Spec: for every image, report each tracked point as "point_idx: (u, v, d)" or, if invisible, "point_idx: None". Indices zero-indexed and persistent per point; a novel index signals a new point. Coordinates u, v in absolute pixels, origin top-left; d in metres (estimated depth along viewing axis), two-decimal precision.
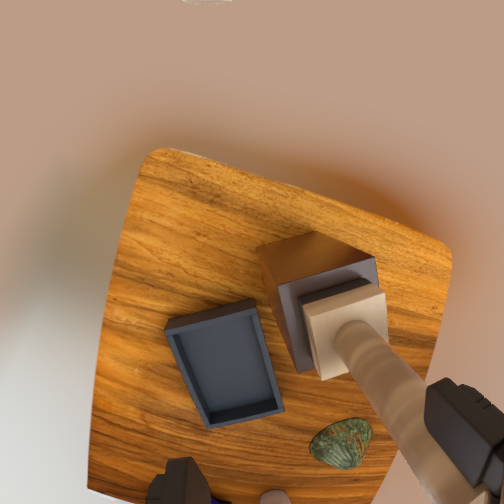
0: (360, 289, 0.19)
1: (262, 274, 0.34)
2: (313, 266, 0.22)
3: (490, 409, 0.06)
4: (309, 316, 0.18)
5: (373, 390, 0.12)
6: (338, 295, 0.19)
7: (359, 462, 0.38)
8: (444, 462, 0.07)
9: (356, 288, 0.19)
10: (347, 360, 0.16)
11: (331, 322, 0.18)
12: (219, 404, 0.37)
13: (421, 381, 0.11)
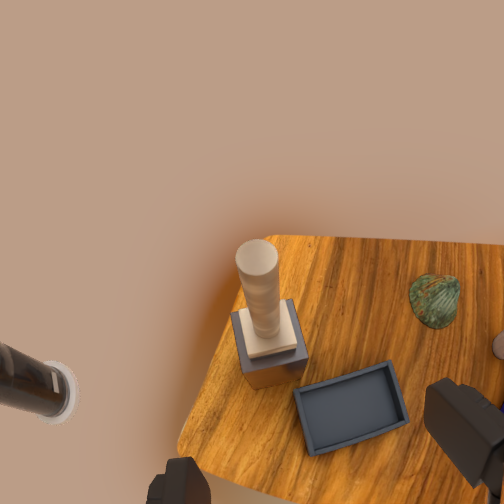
0: None
1: (272, 385, 0.42)
2: None
3: (490, 409, 0.06)
4: (248, 355, 0.29)
5: (259, 319, 0.25)
6: None
7: (450, 278, 0.45)
8: (244, 285, 0.21)
9: None
10: (265, 331, 0.28)
11: (252, 341, 0.30)
12: (389, 414, 0.38)
13: None
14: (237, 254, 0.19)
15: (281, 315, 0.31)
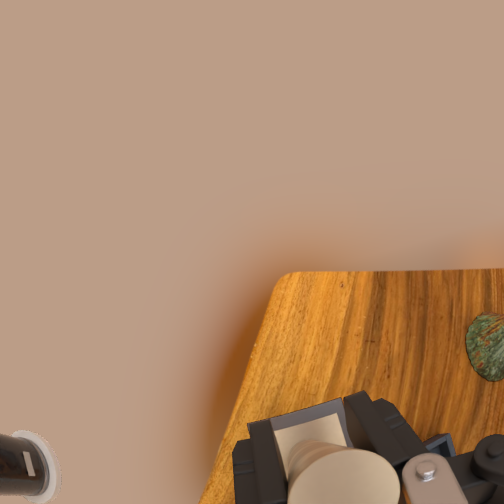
0: None
1: None
2: None
3: (403, 428, 0.07)
4: None
5: None
6: None
7: None
8: None
9: None
10: None
11: None
12: None
13: (291, 460, 0.11)
14: (293, 498, 0.05)
15: (332, 440, 0.16)
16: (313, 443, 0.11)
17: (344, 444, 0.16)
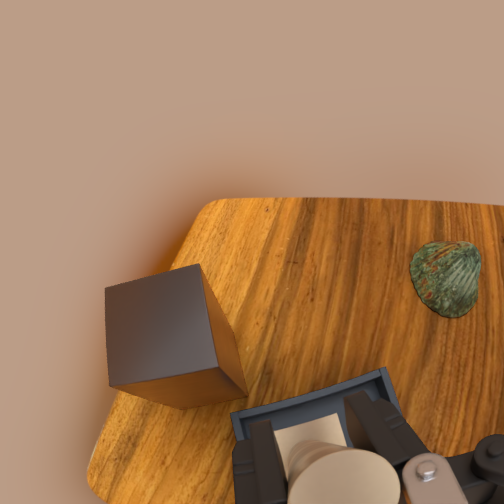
0: None
1: (204, 404, 0.27)
2: None
3: (403, 428, 0.07)
4: None
5: None
6: None
7: (467, 245, 0.30)
8: None
9: None
10: None
11: None
12: None
13: (291, 460, 0.11)
14: (293, 498, 0.05)
15: (332, 440, 0.16)
16: (313, 443, 0.11)
17: (344, 444, 0.16)
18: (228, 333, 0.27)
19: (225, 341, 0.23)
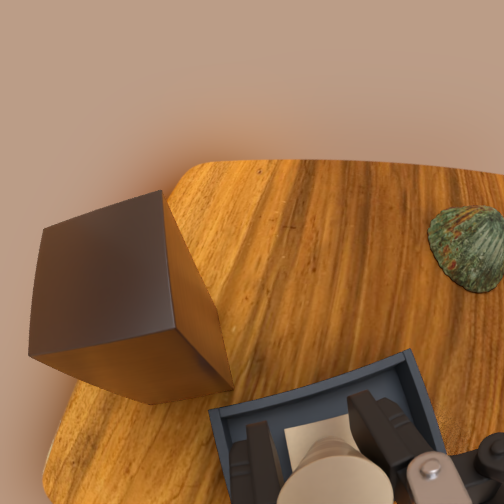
0: None
1: (177, 398, 0.21)
2: None
3: (406, 427, 0.07)
4: None
5: None
6: None
7: (491, 209, 0.25)
8: None
9: None
10: None
11: None
12: None
13: None
14: (282, 500, 0.05)
15: None
16: (326, 442, 0.11)
17: None
18: (206, 303, 0.21)
19: (199, 307, 0.17)
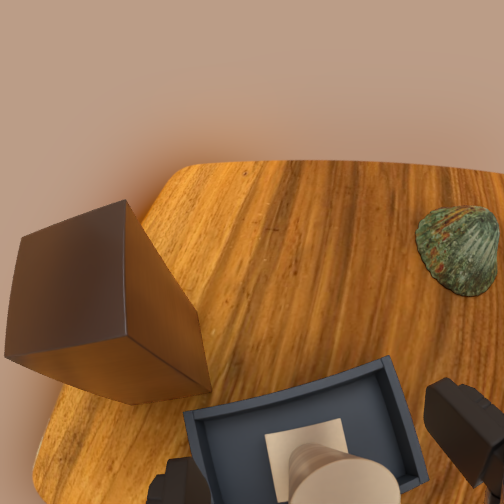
0: None
1: (156, 399, 0.21)
2: None
3: (490, 409, 0.06)
4: None
5: None
6: None
7: (482, 209, 0.24)
8: None
9: None
10: None
11: (286, 484, 0.15)
12: (389, 462, 0.17)
13: (292, 463, 0.11)
14: None
15: (333, 445, 0.16)
16: (316, 447, 0.11)
17: (345, 449, 0.16)
18: (181, 307, 0.21)
19: (167, 312, 0.17)
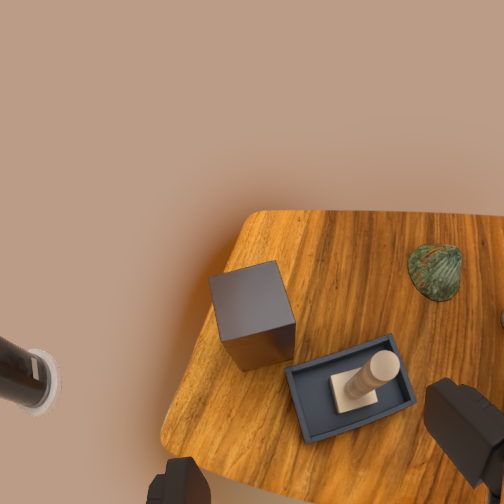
0: (331, 385, 0.35)
1: (262, 365, 0.39)
2: None
3: (490, 409, 0.06)
4: (339, 413, 0.32)
5: (361, 393, 0.28)
6: (333, 396, 0.35)
7: (451, 247, 0.42)
8: (368, 381, 0.24)
9: (331, 387, 0.35)
10: (358, 397, 0.31)
11: (343, 402, 0.33)
12: (394, 395, 0.35)
13: (355, 374, 0.28)
14: (371, 364, 0.23)
15: None
16: None
17: None
18: None
19: None
